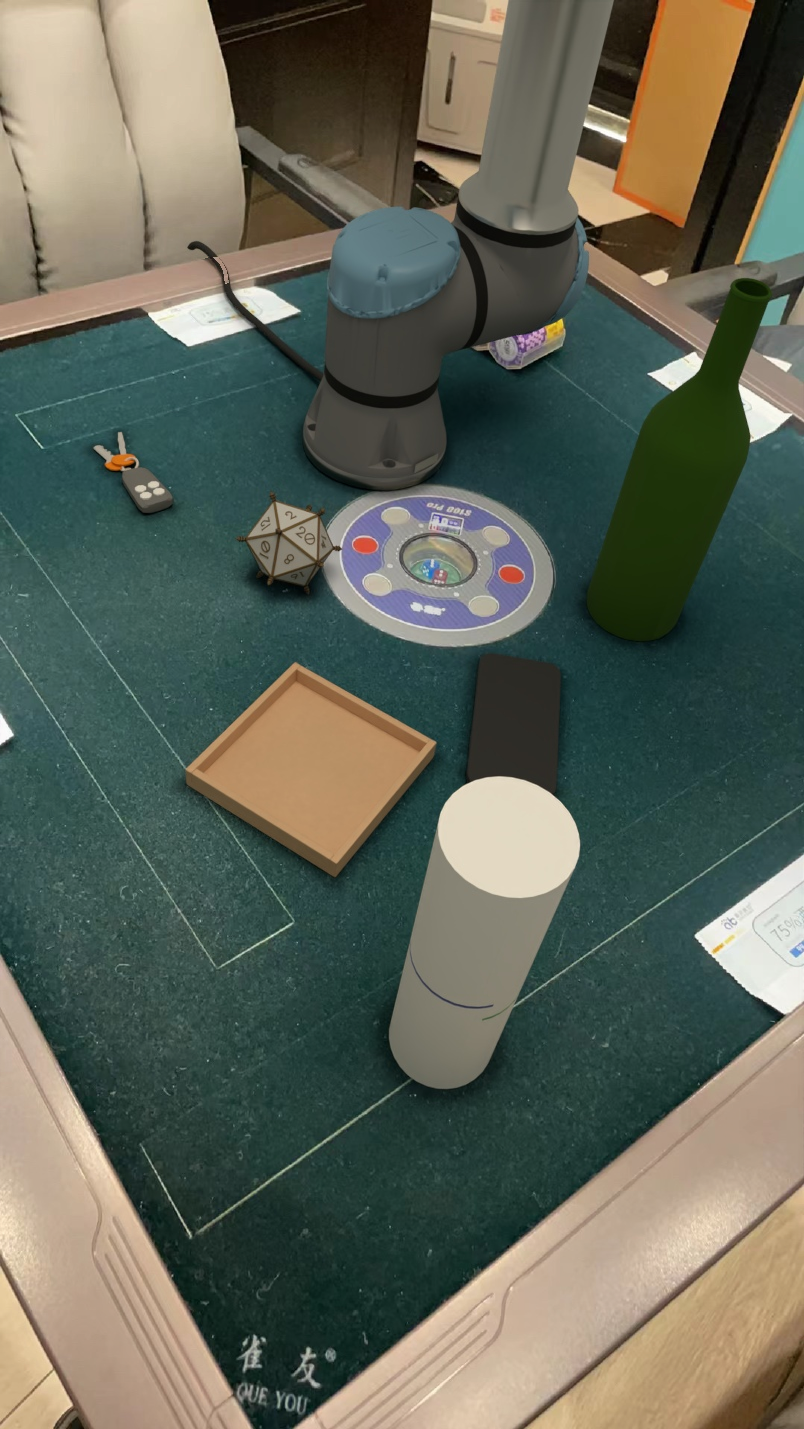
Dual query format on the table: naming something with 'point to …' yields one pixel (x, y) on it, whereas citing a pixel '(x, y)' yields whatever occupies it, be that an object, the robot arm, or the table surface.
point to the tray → (312, 767)
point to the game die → (289, 543)
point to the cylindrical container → (479, 925)
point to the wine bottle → (678, 483)
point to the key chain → (137, 480)
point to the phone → (515, 721)
